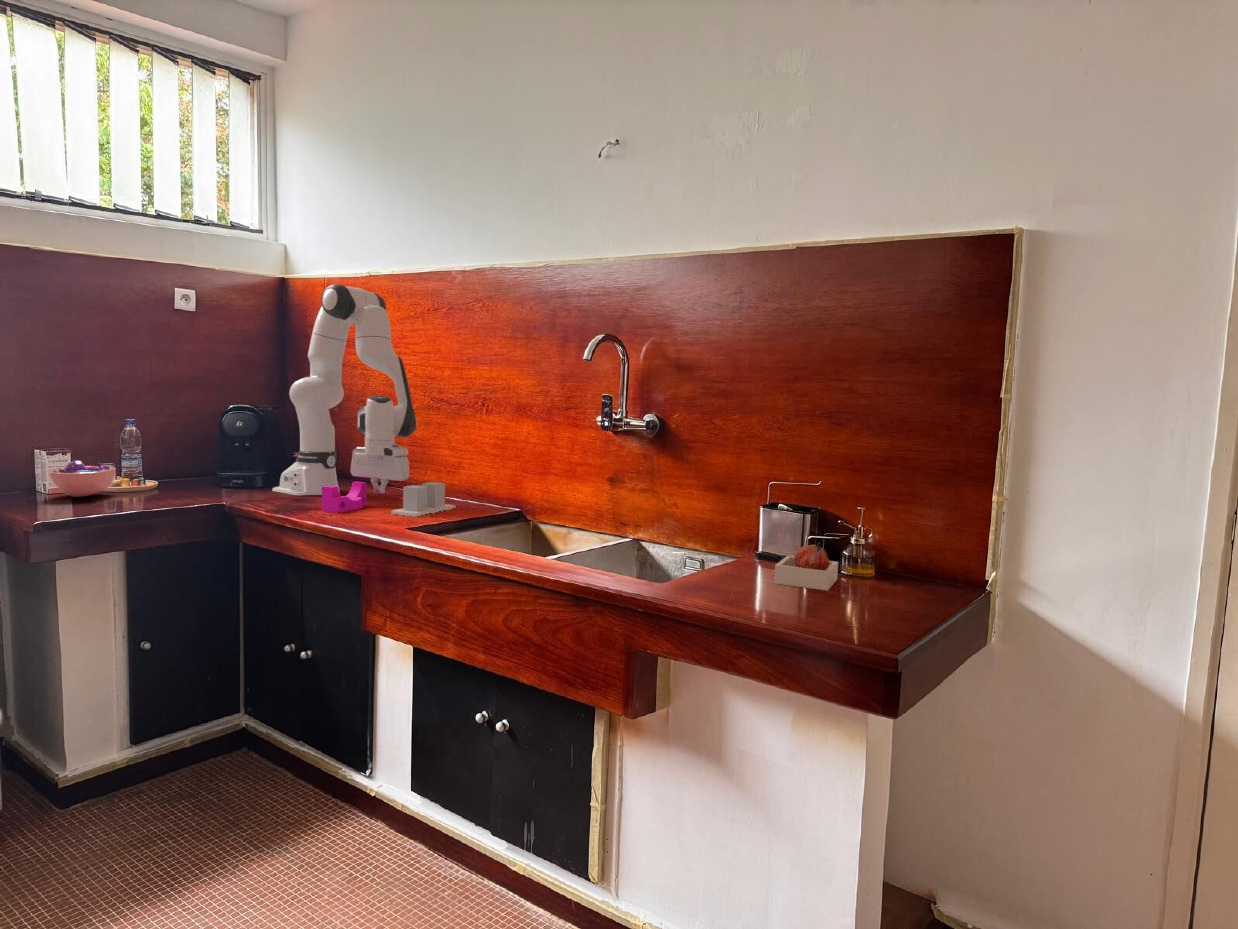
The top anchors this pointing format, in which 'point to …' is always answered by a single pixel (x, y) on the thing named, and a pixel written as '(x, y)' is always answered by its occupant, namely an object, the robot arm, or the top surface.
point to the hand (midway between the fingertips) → (379, 492)
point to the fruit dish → (805, 575)
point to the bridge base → (423, 500)
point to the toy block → (343, 498)
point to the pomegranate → (812, 557)
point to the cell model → (82, 478)
